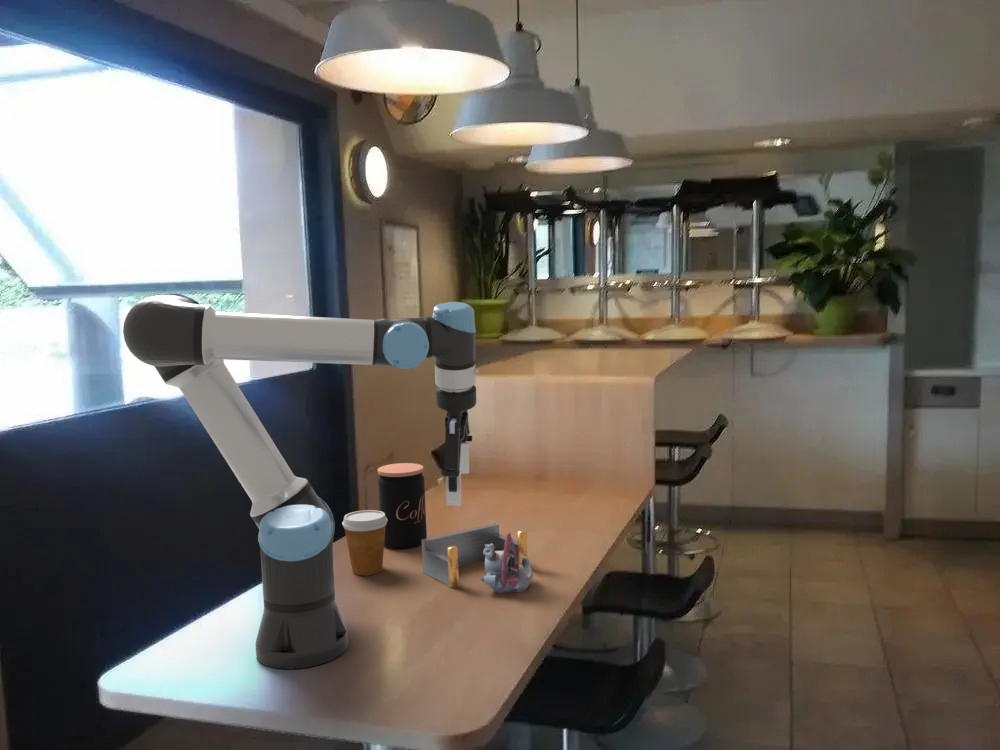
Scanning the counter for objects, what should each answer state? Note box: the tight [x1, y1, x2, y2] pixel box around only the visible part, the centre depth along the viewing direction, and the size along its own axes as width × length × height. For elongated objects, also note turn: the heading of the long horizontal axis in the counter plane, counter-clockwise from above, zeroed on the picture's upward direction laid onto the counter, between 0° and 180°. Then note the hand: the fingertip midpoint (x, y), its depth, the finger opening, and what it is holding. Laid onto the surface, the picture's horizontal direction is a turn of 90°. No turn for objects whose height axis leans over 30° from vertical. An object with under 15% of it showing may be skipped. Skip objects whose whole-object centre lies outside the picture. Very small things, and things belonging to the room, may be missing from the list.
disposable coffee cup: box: [341, 509, 388, 576], centre depth 186 cm, size 10×10×12 cm
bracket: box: [421, 523, 529, 589], centre depth 183 cm, size 19×12×8 cm, turn 124°
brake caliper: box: [479, 531, 534, 594], centre depth 174 cm, size 11×11×12 cm
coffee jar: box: [377, 462, 428, 551], centre depth 203 cm, size 11×11×18 cm
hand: (458, 488), depth 170 cm, fingers open, 13 cm apart
